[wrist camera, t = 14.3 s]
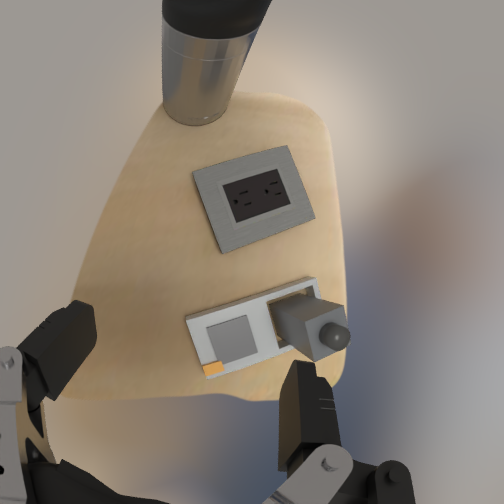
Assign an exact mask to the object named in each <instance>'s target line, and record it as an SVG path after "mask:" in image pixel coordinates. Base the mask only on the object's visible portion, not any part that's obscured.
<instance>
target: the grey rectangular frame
mask: <svg viewBox="0 0 504 504" xmlns="http://www.w3.org/2000/svg"><path fill="white" fill-rule="evenodd" d="M303 288H306V291H307V295H308V296H311V297H315V298H318V299H321V295H320V291H319V287H318V283H317V279H316V278H315V277H306V278H303V279H300V280H297V281H294V282H291V283H288V284H285V285H282V286H280V287H277V288H274V289H271V290H268V291H265V292H262V293H259V294H256V295H253V296H250V297H246V298H243V299H240V300H237V301H234V302H231V303H228V304H225V305H221V306H218V307H215V308H212V309H209V310H205V311H202V312H199V313H195V314H192V315H189V316H186V322H187V325H188V328H189V331H190V334H191V337H192V340H193V342H194V345H195V348H196V351H197V354H198V356H199V359H200V362H201V364H202V368H203V370H204V373H205V375H206V377H207V380H208V379H211V378H214V377H218V376H221V375H224V374H227V373H230V372H233V371H236V370H239V369H242V368H245V367H247V366H250V365H253V364H256V363H258V362H261V361H264V360H267V359H269V358H272V357H274V356H277V355H280V354H282V353H285V352H287V351H290V350H292V349H295V348H294V347H293V346H291V345H290V344H289V343H287V342H286V341H285V340H282V341H279V342H277V340H276V336H275V332H274V329H273V325H272V322H271V318H270V314H269V311H268V307H267V304H266V301H269V300H272V299H275V298H278V297H281V296H284V295H286V294H289V293H292V292H295V291H298V290H300V289H303Z"/></svg>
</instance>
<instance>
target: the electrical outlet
mask: <svg viewBox="0 0 504 504" xmlns="http://www.w3.org/2000/svg"><path fill="white" fill-rule="evenodd" d="M192 173H193V176H194V179H195V182H196V185H197V187H198V190H199V193H200V196H201V198H202V201H203V204H204V207H205V209H206V212H207V215H208V218H209V220H210V223H211V226H212V228H213V231H214V234H215V236H216V239H217V242H218V244H219V247H220V250H221V252H222V254H224V253H226V252H229V251H232V250H234V249H237V248H239V247H242V246H244V245H247V244H250V243H252V242H255V241H257V240H260V239H263V238H265V237H268V236H270V235H273V234H276V233H278V232H281V231H283V230H286V229H289V228H291V227H294V226H297V225H299V224H302V223H304V222H307V221H310V220H312V219H315V215H314V212H313V210H312V207H311V204H310V202H309V199H308V196H307V194H306V191H305V189H304V186H303V183H302V181H301V178H300V176H299V173H298V171H297V168H296V166H295V163H294V161H293V158H292V156H291V154H290V151H289V149H288V146H287V145H286V146H282V147H277V148H273V149H269V150H266V151H262V152H258V153H254V154H251V155H247V156H243V157H240V158H236V159H233V160H229V161H226V162H223V163H219V164H216V165H213V166H210V167H206V168H203V169H200V170H197V171H194V172H192Z"/></svg>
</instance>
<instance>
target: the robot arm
mask: <svg viewBox="0 0 504 504" xmlns="http://www.w3.org/2000/svg"><path fill="white" fill-rule="evenodd" d="M271 1H272V0H163V1H162V84H163V85H162V89H163V104H164V108H165V110H166V112H167V113H168V114H169V115H170V117H172V118H173V119H174V120H176V121H178V122H180V123H182V124H186V125H194V126H197V125H204V124H208V123H211V122H213V121H215V120H216V119H218V118H219V117H220V116H221V115H222V114H223V113H224V112H225V110H226V108H227V106H228V103H229V100H230V98H231V95H232V93H233V90H234V88H235V85H236V82H237V80H238V77H239V75H240V72H241V70H242V67H243V65H244V62H245V60H246V57H247V55H248V52H249V50H250V48H251V45H252V43H253V41H254V38H255V36H256V34H257V31H258V29H259V27H260V25H261V23H262V21H263V18H264V16H265V14H266V11H267V9H268V7H269V5H270V3H271ZM96 340H97V332H96V325H95V317H94V309H93V307H92V306H91V305H89V304H86V303H84V302H81V301H78V300H74V301H73V302H72V303H71V304H69V305H68V306H67V307H66V308H61V309H59V310H57V311H55V312H53V313H52V314H50V315H49V316H48V317H47V318H46V319H45V321H43V322H42V323H41V324H40V325H39V327H37V328H36V329H35V330H34V331H33V332H32V333H31V334H30V335H29V336H28V337H27V338H26V339H25V340H24V341H23V342H22V343H21V344H20V345H19V346H18V347H17V348H14V347H9V346H8V347H2V348H0V504H169V503H165V502H162V501H158V500H154V499H145V498H137V497H130V496H124V495H120V494H117V493H116V492H114V491H113V490H112V489H110V488H109V487H107V486H106V485H104V484H103V483H102V482H100V481H99V480H98V479H96V478H95V477H94V476H92V475H91V474H90V473H88V472H86V471H84V470H82V469H80V468H78V467H76V466H74V465H72V464H70V463H69V462H67V461H65V460H63V459H62V460H61V462H60V464H56V460H55V457H54V455H53V452H52V450H51V448H50V445H49V442H48V436H47V429H46V422H45V414H44V405H43V401H42V400H43V399H44V397H45V396H47V397H48V398H50V399H52V400H53V401H55V400H56V399H57V397H58V396H59V394H60V393H61V392H62V390H63V389H64V387H65V386H66V385H67V383H68V382H69V380H70V379H71V378H72V376H73V375H74V374H75V372H76V371H77V369H78V368H79V367H80V365H81V364H82V363H83V361H84V360H85V359H86V357H87V356H88V355H89V353H90V352H91V351H92V349H93V348H94V346H95V344H96ZM333 400H334V398H333V392H332V388H331V386H330V385H329V383H328V382H327V380H326V379H325V378H324V377H317V374H316V367H315V364H314V363H313V362H307V361H300V360H294V361H293V363H292V365H291V367H290V369H289V372H288V374H287V376H286V378H285V381H284V383H283V385H282V388H281V392H280V398H279V451H278V452H279V453H278V471H283V472H287V481H286V482H284V483H283V485H281V486H280V487H279V488H278V489H277V490H276V491H275V492H274V493H273V494H272V495H271V496H270V497H269V498H268V499H267V500H265V502H263V503H262V504H416V503H415V497H414V491H413V486H412V480H411V476H410V472H409V470H408V468H407V467H406V466H405V465H404V464H402V463H401V462H398V461H394V460H390V461H386V462H384V463H382V464H381V465H379V466H373V465H369V464H365V463H361V462H358V461H355V460H353V459H352V457H351V455H350V454H349V453H348V452H347V451H346V450H345V449H344V448H342V446H341V441H340V435H339V428H338V422H337V415H336V411H335V404H334V401H333Z"/></svg>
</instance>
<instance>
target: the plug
mask: <svg viewBox="0 0 504 504" xmlns="http://www.w3.org/2000/svg"><path fill="white" fill-rule="evenodd" d="M269 307H270V310H271V314H272V317H273V321H274V324H275V328H276V331H277V335H278V336H279V337H281V338H282V339H283V340H285V341H286V342H287V343H289V344H290V345H291V346H293V347H294V348H296V349H297V350H298V351H300V352H301V353H302V354H304V355H305V356H307V357H308V358H309V359H311V360H312V361H313V362H316V361H318V360H320V359H323V358H325V357H327V356H329V355H331V354H333V353H335V352H337V351H341V350H343V349H344V348H345V347H347V346H349V345H351V341H350V332H349V330H348V325H347V320H346V315H345V310H344V305H340V304H337V303H333V302H329V301H325V300H322V299H318V298H315V297H311V296H307V295H304V294H300V293H299V294H296V295H293V296H291V297H288V298H285V299H282V300H280V301H277V302H274V303H271V304H269Z"/></svg>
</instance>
